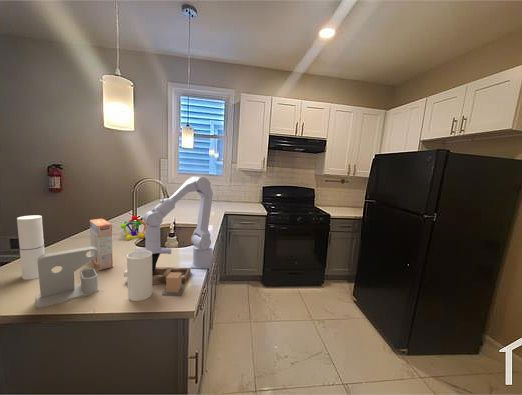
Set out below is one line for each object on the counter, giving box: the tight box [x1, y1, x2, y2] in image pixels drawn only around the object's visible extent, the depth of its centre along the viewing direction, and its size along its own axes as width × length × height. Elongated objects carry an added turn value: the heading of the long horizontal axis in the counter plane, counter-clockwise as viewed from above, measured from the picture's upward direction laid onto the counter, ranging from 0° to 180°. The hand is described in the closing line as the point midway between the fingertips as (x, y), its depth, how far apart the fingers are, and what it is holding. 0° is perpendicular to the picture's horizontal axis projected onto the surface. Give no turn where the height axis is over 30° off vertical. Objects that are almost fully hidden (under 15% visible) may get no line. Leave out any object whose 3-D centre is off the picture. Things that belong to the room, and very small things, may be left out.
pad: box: [161, 284, 186, 296], centre depth 92 cm, size 7×7×1 cm
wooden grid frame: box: [152, 266, 192, 285], centre depth 101 cm, size 18×10×2 cm, turn 94°
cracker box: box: [89, 218, 114, 271], centre depth 109 cm, size 14×6×21 cm, turn 47°
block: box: [165, 272, 183, 293], centre depth 91 cm, size 4×4×6 cm
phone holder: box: [35, 245, 99, 309], centre depth 84 cm, size 17×10×18 cm, turn 134°
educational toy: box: [120, 215, 146, 241], centre depth 150 cm, size 16×13×15 cm
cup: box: [126, 250, 153, 302], centre depth 86 cm, size 8×8×16 cm
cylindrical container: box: [16, 214, 46, 281], centre depth 95 cm, size 7×7×25 cm
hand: (153, 269), depth 100 cm, fingers closed
